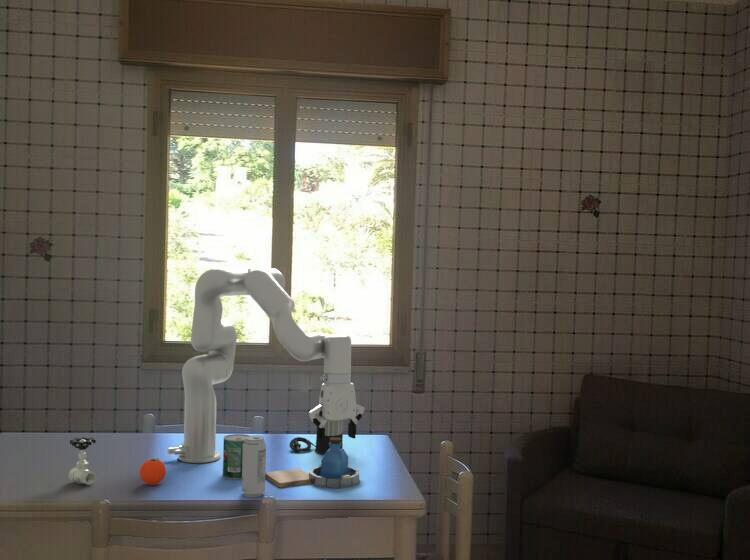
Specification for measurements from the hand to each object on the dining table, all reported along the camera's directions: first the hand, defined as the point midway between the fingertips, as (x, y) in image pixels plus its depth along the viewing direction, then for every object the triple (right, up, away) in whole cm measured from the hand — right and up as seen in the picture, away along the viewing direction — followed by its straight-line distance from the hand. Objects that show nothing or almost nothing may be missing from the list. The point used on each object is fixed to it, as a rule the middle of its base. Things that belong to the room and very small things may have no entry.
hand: (336, 439), depth 211 cm
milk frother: (-8, -11, +32) cm, 35 cm away
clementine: (-49, -11, -7) cm, 51 cm away
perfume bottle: (-1, -12, 0) cm, 12 cm away
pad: (-13, -11, 0) cm, 17 cm away
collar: (-1, -12, 0) cm, 12 cm away
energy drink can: (-21, -12, -14) cm, 28 cm away
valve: (-68, -10, -9) cm, 70 cm away
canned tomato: (-29, -11, +3) cm, 31 cm away
